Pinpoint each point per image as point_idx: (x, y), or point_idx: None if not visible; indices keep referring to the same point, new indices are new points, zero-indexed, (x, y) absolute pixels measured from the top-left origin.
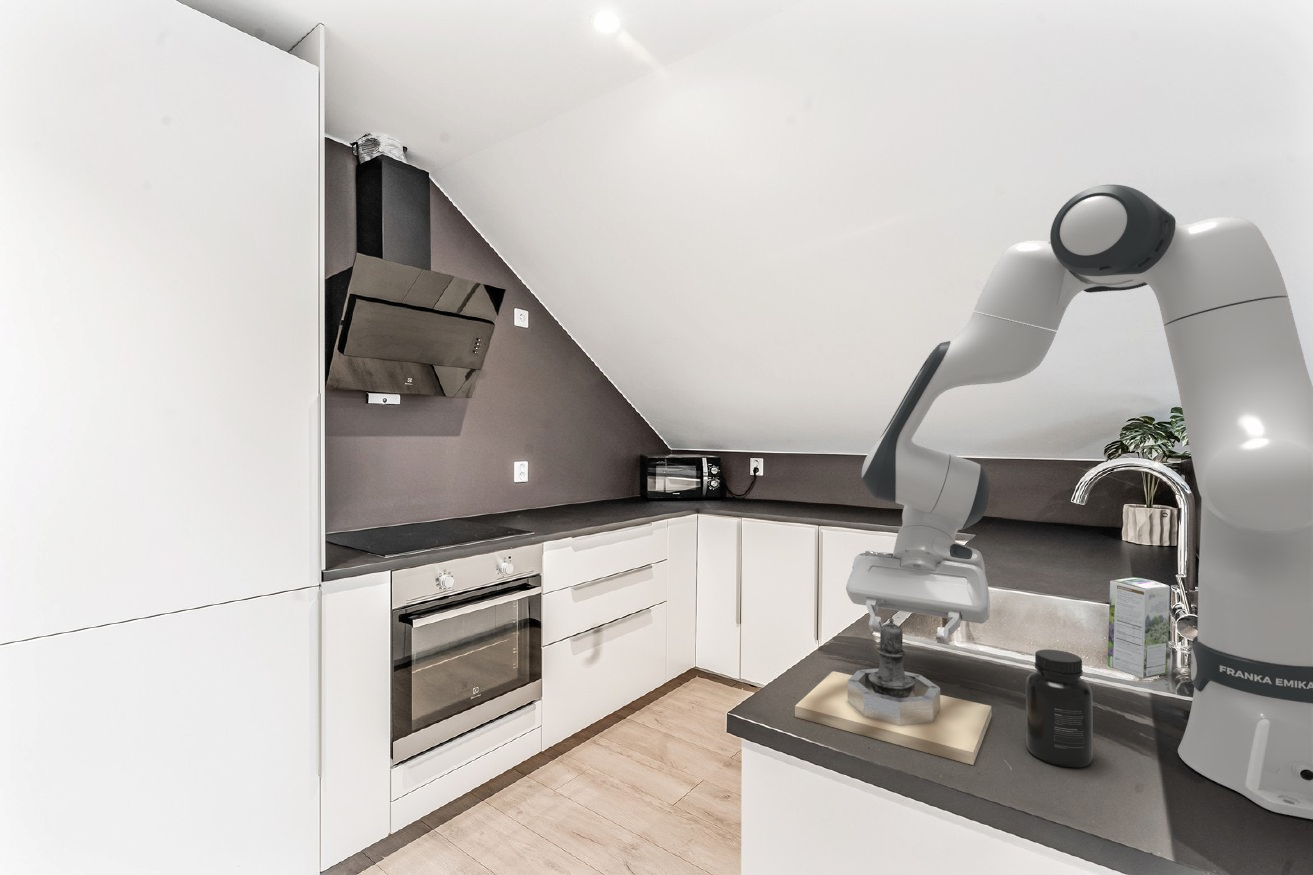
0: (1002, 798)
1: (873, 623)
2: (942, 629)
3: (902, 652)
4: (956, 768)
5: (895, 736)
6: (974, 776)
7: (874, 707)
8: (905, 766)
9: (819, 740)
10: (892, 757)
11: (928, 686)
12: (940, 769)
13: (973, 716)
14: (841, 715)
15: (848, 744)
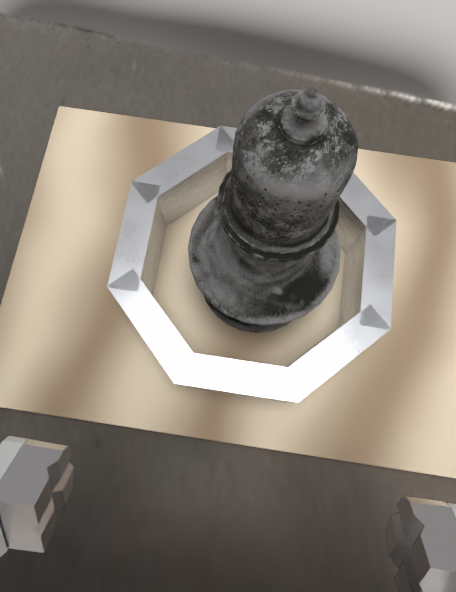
0: (31, 36)
1: (448, 515)
2: (9, 489)
3: (229, 189)
4: (103, 102)
5: None
6: (71, 87)
7: None
8: (198, 72)
9: (378, 102)
10: (226, 94)
11: (145, 287)
12: (133, 86)
13: (36, 300)
14: (363, 162)
15: None
